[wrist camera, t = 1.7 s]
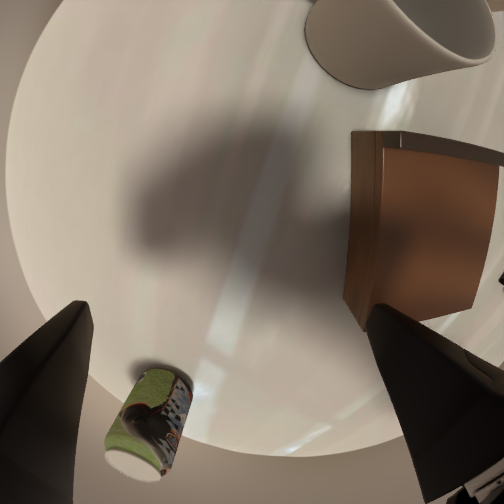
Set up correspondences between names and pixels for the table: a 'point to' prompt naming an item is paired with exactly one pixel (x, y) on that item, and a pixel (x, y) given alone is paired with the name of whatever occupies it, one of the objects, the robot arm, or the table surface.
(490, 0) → the dixie cup
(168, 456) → the beverage can
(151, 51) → the table surface
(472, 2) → the mug
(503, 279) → the person figure
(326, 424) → the table surface
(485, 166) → the wooden riser stand
